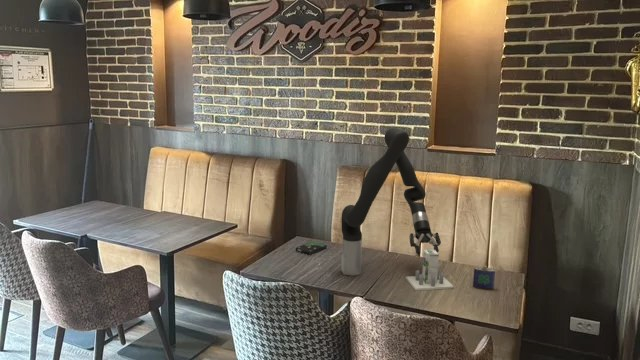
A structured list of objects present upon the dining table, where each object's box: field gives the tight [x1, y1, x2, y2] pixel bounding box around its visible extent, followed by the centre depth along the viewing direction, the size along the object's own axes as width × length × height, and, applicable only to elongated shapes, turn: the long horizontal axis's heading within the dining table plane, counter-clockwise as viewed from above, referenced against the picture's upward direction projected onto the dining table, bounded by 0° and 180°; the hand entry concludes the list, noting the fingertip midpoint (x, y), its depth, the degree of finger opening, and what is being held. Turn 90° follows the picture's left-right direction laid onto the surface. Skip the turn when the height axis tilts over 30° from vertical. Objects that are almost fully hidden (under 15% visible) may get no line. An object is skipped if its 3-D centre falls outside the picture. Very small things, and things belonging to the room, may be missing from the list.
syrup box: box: [421, 249, 440, 284], centre depth 242 cm, size 6×6×14 cm
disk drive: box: [295, 241, 328, 256], centre depth 287 cm, size 10×3×15 cm
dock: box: [405, 268, 454, 291], centre depth 243 cm, size 18×14×6 cm
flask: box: [472, 265, 496, 291], centre depth 238 cm, size 9×3×11 cm, turn 74°
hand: (427, 253), depth 243 cm, fingers open, 8 cm apart
